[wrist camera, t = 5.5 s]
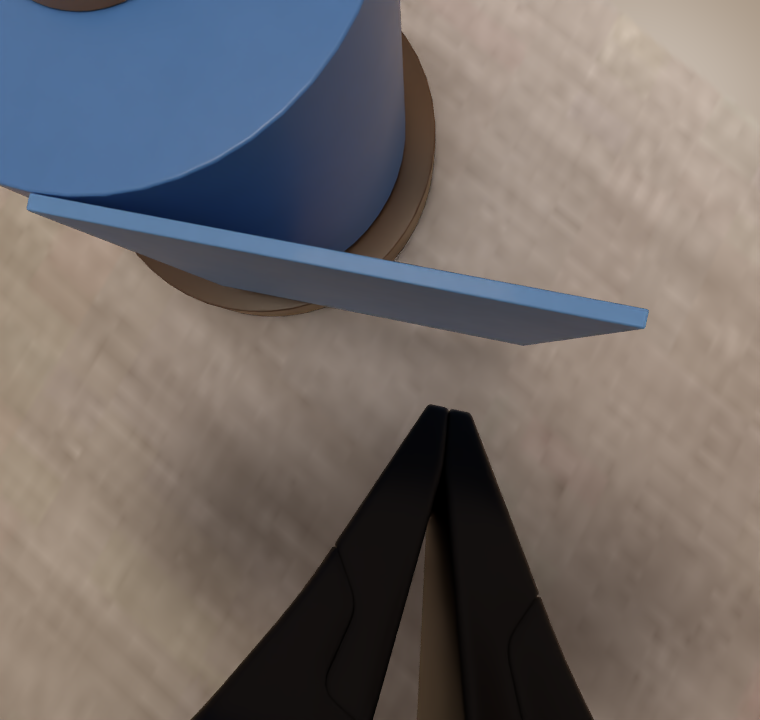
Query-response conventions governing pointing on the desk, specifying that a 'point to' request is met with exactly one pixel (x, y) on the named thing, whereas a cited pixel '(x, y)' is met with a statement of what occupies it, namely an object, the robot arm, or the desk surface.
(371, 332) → the desk surface
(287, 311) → the holder
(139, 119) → the towel roll
